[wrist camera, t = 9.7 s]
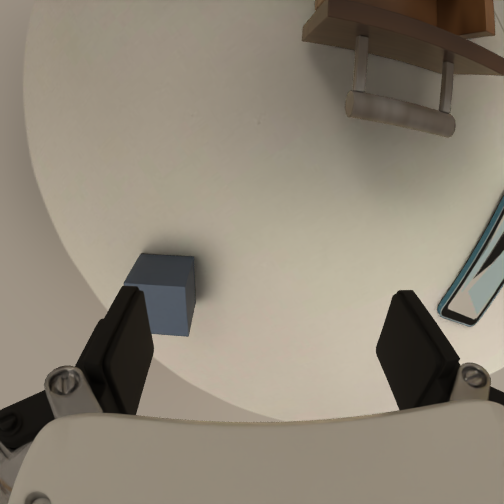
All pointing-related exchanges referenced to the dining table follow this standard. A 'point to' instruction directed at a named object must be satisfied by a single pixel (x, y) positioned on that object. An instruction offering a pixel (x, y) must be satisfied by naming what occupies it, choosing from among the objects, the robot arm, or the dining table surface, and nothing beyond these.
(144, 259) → the block
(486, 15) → the drawer
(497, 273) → the smartphone
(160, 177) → the dining table surface
